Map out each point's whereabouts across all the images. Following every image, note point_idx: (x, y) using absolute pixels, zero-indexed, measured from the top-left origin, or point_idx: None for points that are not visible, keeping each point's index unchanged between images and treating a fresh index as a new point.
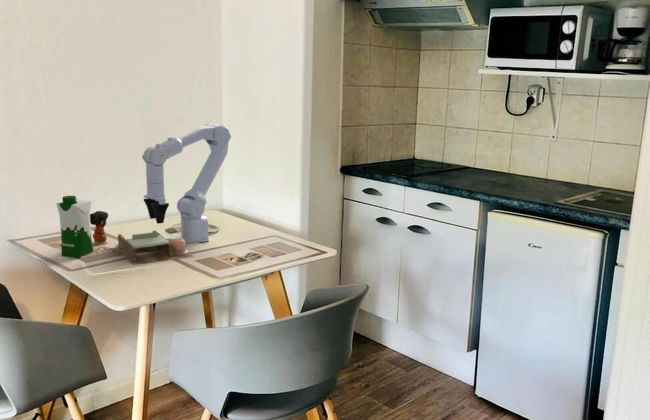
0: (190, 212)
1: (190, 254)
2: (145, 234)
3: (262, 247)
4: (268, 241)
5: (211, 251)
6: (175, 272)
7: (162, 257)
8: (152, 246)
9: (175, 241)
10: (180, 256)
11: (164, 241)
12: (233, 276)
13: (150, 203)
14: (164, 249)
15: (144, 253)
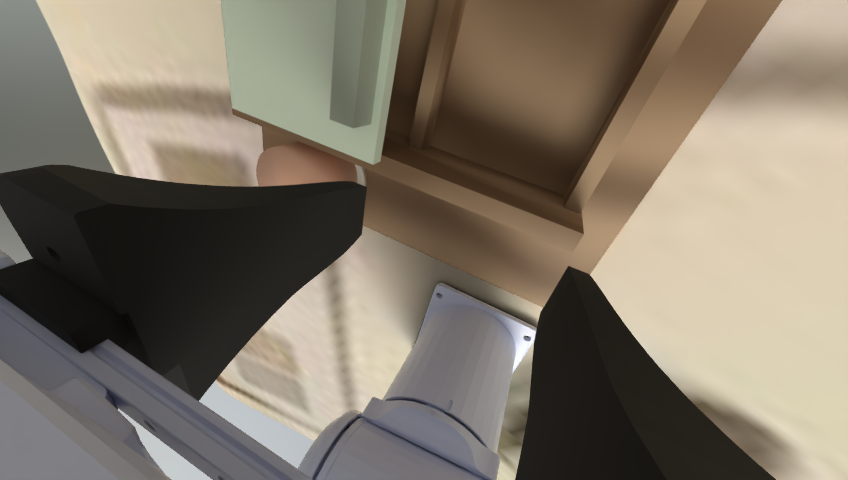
0: (325, 429)
1: None
2: (338, 5)
3: (286, 362)
4: (322, 407)
5: None
6: (145, 3)
7: None
8: (419, 92)
9: (268, 160)
10: (282, 139)
11: (242, 85)
12: (108, 141)
13: (573, 458)
14: None
15: (407, 9)
